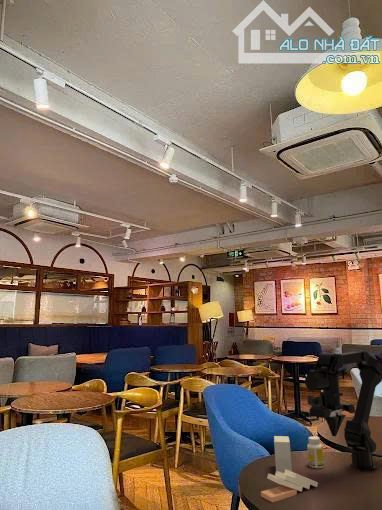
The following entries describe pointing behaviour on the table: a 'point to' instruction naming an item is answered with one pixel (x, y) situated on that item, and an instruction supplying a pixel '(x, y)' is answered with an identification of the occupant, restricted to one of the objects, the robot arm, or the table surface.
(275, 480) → the domino
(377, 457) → the table surface
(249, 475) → the table surface
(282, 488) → the domino
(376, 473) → the table surface
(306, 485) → the domino
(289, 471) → the domino
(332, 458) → the table surface
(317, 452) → the supplement bottle
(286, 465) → the small box
